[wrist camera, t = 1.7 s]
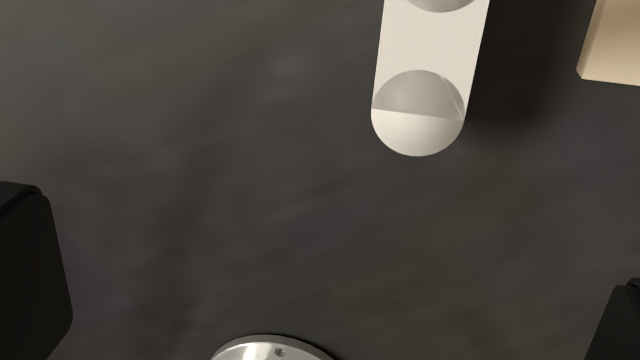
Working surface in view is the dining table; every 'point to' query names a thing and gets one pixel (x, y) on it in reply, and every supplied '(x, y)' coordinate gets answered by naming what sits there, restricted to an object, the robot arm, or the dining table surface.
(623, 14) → the birch board
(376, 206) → the dining table surface
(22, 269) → the robot arm
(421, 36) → the rounded block
